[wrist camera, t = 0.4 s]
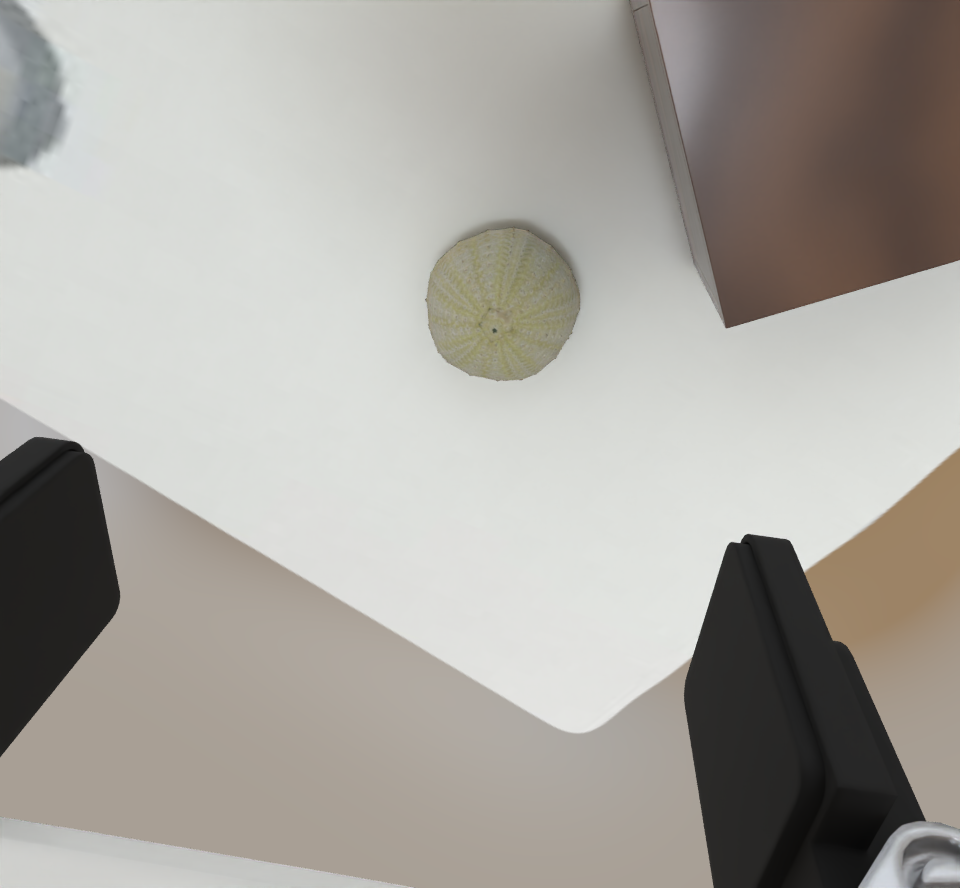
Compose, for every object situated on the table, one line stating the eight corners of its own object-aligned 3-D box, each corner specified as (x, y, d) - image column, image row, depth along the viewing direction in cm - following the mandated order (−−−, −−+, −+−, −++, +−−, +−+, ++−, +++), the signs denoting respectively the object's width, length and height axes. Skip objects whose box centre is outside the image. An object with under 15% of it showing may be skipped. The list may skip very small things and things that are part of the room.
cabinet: (1021, -176, 33) (1198, -261, 23) (1034, 157, 39) (1179, 196, 29) (627, -8, 37) (643, -22, 28) (694, 266, 44) (726, 329, 34)
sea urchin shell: (622, 304, 43) (545, 402, 41) (553, 330, 50) (483, 415, 48) (518, 184, 41) (429, 280, 38) (461, 229, 48) (382, 312, 45)
